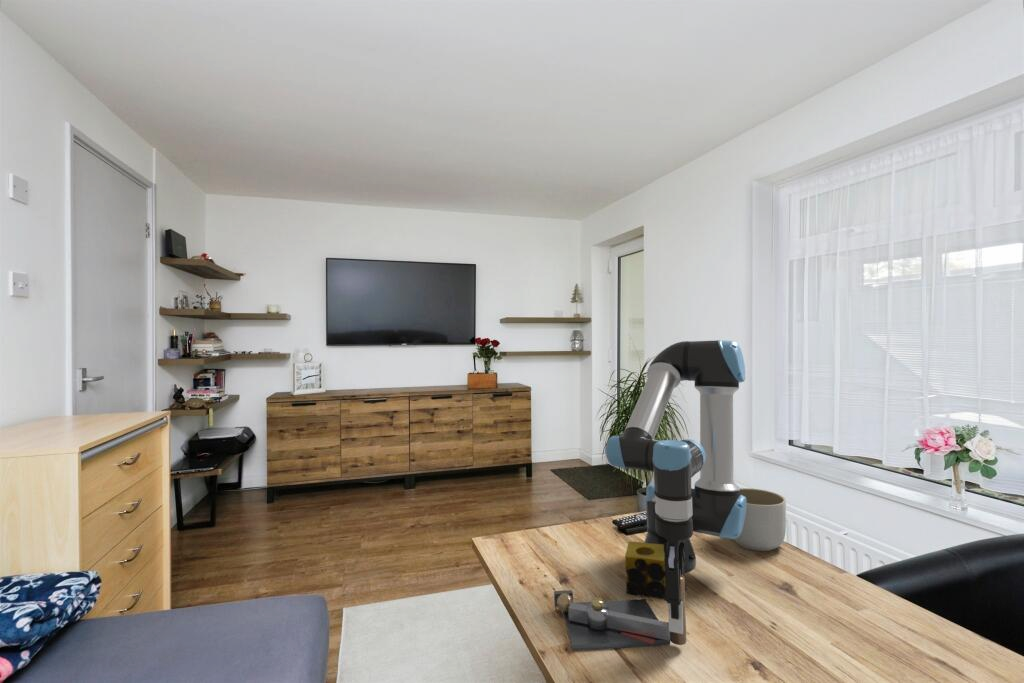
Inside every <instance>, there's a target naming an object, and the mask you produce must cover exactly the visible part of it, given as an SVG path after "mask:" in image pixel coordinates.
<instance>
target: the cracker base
mask: <svg viewBox="0 0 1024 683" xmlns="http://www.w3.org/2000/svg"><path fill="white" fill-rule="evenodd" d="M573 595H574V592H573V590H572V589H569V590H568V589H566V590H554V591H553V602H554V607H555V608H558V610H559V611H560V612H562V616H563V619H564V624H565V627H566V632H567V634H568V638H569V639H568V640H569V643H570V646H571V649H572V651H573V652H574V651H588V650H589V651H591V650H593V651H594V650H607V649H608V650H609V649H610V650H611V649H625V648H627V649H628V648H642V647H643V648H645V647H646V648H647V647H658V646H659V647H661V646H662V647H663V646H671V641H669V640H664V639H659V638H655V637H650V636H645V635H640V634H636V633H631V632H626V631H621V630H617V629H612V628H605V629H602V630H598V629H593V628H591V627H590V626H589V625H588V624H585V623H580V622H575V621H570V620H569V606H570V604H571V603H575V602H574V596H573ZM576 603H577V604H582V605H587V606H588V605H589V604H590V603H592V608H593V609H595V610H601V609H603V608H604V605H603V604H605V605H607V606H608V608H609V611H613V612H618V613H623V614H629V615H634V616H639V617H644V618H649V619H654V620H659V619H658V618H657V615H656V614H655V612H654V611H653V609H652V607H651V606H650V604H649V602H648V601H647V599H646V598H638V599H619V600H616V599H615V600H604V599H603V598H601V597H599V596H597V597H593V598H591V601H581V602H576Z"/></svg>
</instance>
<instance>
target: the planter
mask: <svg viewBox="0 0 1024 683" xmlns="http://www.w3.org/2000/svg"><path fill="white" fill-rule="evenodd" d="M739 488H740V495H743V496H744V497H746V500H747V501H746V504H747V507H746V515H745V521H744V525H743V529H742V532H741V534H740V536H739V537H738V538H736V539H732V540H733V541H734V542H736V543H737V544H738V545H739V546H741V547H742V548H745V549H749V550H753V551H757V552H770V551H773V550H775V549H777V548H778V547H780V546H781V545H782V544H783V542H784V540H785V539H786V538H785V537H786V532H787V531H786V526H787V519H786V518H787V500H786V498H785V497H784V496H783V495H781V494H779V493H777V492H773V491H770V490H766V489H760V488H751V487H750V488H749V487H739Z"/></svg>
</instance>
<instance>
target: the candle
mask: <svg viewBox="0 0 1024 683" xmlns="http://www.w3.org/2000/svg"><path fill="white" fill-rule="evenodd" d="M664 559H665V553H664V544H652V543H644V542H641V541H628V543H627V548H626V550H625V555H624V560H625V561H624V562H625V570H626V571H625V572H626V573H625V575H626V577H625V578H626V581H625V587H626V590H625V592H626V594H627V595H632V596H639V597H646V598H652V599H653V598H655V599H659V600H664V598H665V597H667V593H666V570H665V561H664Z"/></svg>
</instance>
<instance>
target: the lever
mask: <svg viewBox="0 0 1024 683" xmlns="http://www.w3.org/2000/svg"><path fill="white" fill-rule="evenodd" d="M685 581H686V579H685V575H684V576H683V575H682V574H681V600H682V611H683V634H679V633H675V632H670V631H669V621H663V620H659V619H658V620H654V619H649V618H644V617H639V616H634V615H629V614H623V613H618V612H613V611H609V608H608V606H607V605H605V604H603V605H604V608H603V609H601V610H595V609H593V608H592V603H590V604H589V605H588V606H587V605H582V604H577V602H574V603H571V604H570V606H569V620H570V621H575V622H580V623H585V624H588V625H589V626H590V627H591V628H593V629H598V630H602V629H605V628H612V629H617V630H621V631H626V632H631V633H636V634H640V635H645V636H650V637H655V638H659V639H664V640H669V641H670V643H672V644H674V645H676V646H682V645H685V644H686V643H687V625H686V624H687V623H686V621H687V620H686V619H687V618H686V615H687V614H686V590H685V585H686V584H685Z"/></svg>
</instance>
